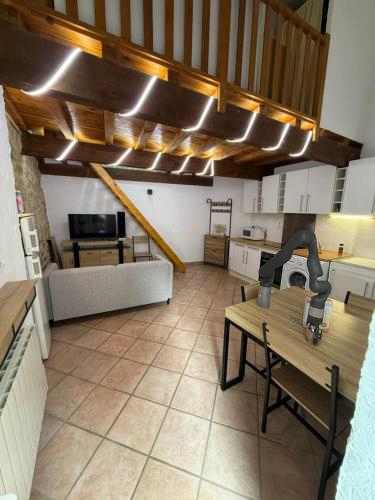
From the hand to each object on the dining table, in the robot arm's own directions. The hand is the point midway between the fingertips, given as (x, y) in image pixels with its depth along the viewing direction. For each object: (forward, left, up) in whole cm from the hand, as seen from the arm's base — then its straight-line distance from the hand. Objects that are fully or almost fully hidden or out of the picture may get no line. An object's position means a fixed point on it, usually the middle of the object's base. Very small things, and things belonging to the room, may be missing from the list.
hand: (311, 339), depth 118 cm
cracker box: (+9, +17, -2) cm, 19 cm away
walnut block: (0, 0, -2) cm, 2 cm away
